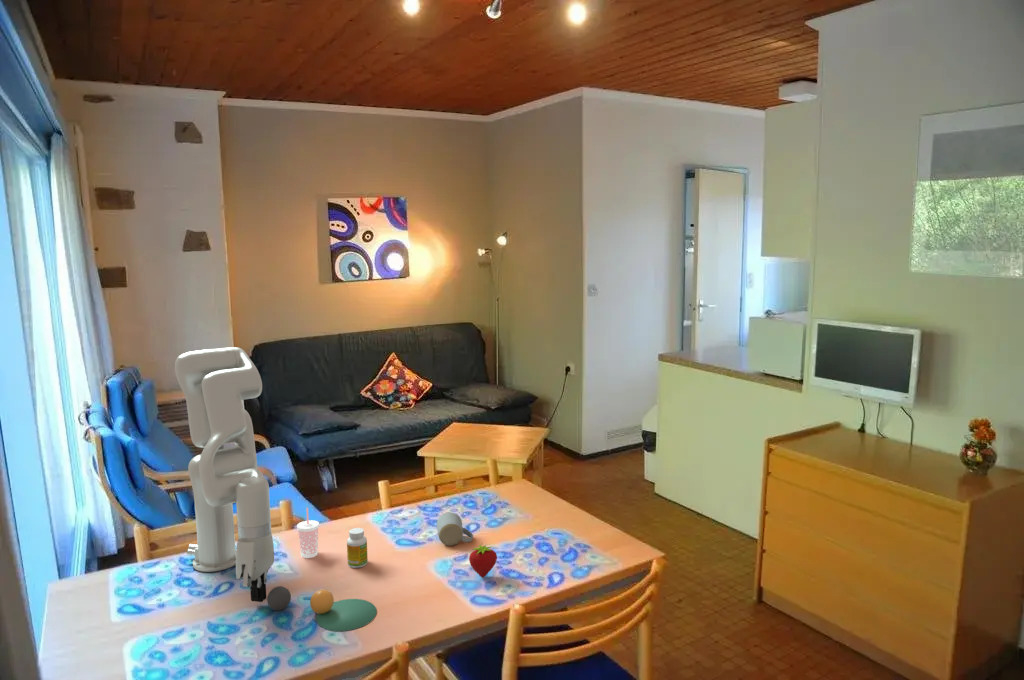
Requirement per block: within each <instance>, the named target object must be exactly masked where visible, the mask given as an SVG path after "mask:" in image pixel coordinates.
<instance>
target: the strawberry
mask: <svg viewBox="0 0 1024 680" xmlns="http://www.w3.org/2000/svg"><path fill="white" fill-rule="evenodd" d="M482 545H483V542H482V543H481V544H479V545H478V547H474V548H472V550H473V551H472V552H471V553H470V554H469V558H468V561H469V564H470V567H471V568H472V569H473V571H474V572H475V573H476V574H478V575H479V577H480V578H484V576H485V577H486V576H487V575H488V574H489V572H491V570H492V569H493V567H495V565H496V563H497V559H498V555H497V552H496V551H495V550H493V549H491V548H492V546H487V545H483V546H482Z"/></svg>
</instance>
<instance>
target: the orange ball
mask: <svg viewBox="0 0 1024 680" xmlns="http://www.w3.org/2000/svg"><path fill="white" fill-rule="evenodd" d="M309 602H310V603H309V605H310V609H311V610H312V611H313V612H314V613H315V614H324V613H326V612H328V611H329V610H330V609H331V608H332V606H333V604H334V602H335V598H334V595H333V594H332V592H330V591H329V590H328V589H324V588H322V589H319V590H317V591H315V592H314V593H313V594H312V595H311V598H310V601H309Z"/></svg>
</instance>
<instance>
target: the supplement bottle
mask: <svg viewBox="0 0 1024 680" xmlns="http://www.w3.org/2000/svg"><path fill="white" fill-rule="evenodd" d="M348 536H349V537H348V538H347V539H346V546H347V547H346V549H347V551H346V552H347V556H346V557H347V565H348V567H349V568H351V569H359V568H362V567H365V566H366V565H367V564H368V539H367V537H366V536H365V529H363V528H362V527H354V528H351V529H350V530H349V531H348Z"/></svg>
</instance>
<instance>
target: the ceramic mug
mask: <svg viewBox="0 0 1024 680" xmlns="http://www.w3.org/2000/svg"><path fill="white" fill-rule="evenodd" d="M436 529H437V536H438V538H439V541H440V542H441V543H442V544H443V545H445V546H449V547H451V546H455V545H458V544H459V543H460V542H464V543H470V542H472V541H473V538H474V534H473V532H471V531H470V530H469V529H467V528H465V527H463V521H462V518H461V517H460V516H459V515H458V514H457V513H456V512H451V511H450V512H448V511H447V512H445V513H442V514H441V515H440V516H439V517H438V519H437V522H436ZM464 535H466V536H464ZM469 537H470V538H469Z"/></svg>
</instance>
